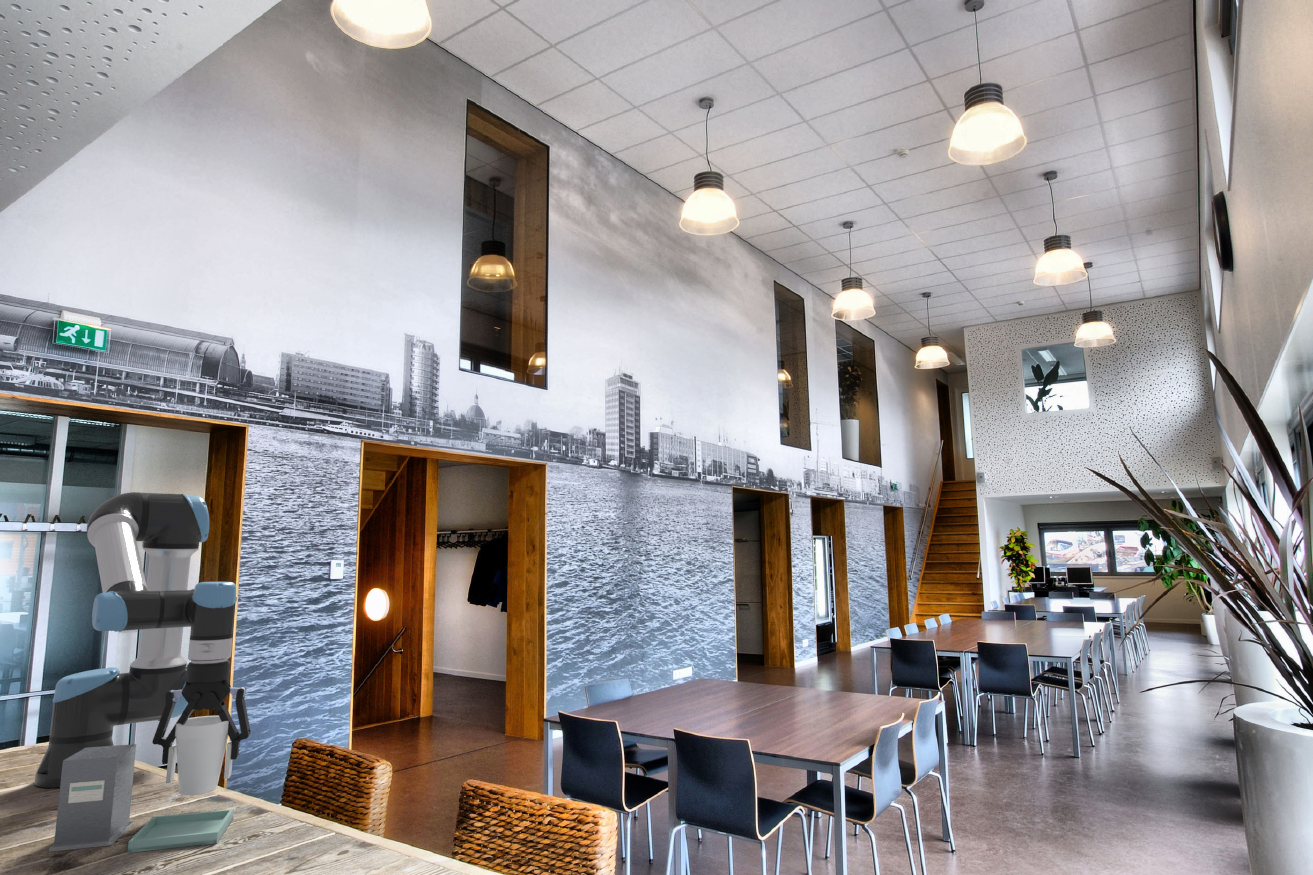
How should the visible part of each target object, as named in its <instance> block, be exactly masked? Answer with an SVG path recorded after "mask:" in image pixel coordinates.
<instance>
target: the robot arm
mask: <svg viewBox="0 0 1313 875" xmlns="http://www.w3.org/2000/svg"><path fill="white" fill-rule="evenodd" d="M86 523H87V524H86V534H87V540H88V541H89V543H90V545H92V546H93V547H94V549H95V555H96V561H97V568H98V573H99V578H100V584H101V593H98V594H97V595H95V598H94V601H93V604H92V613H91V618H92V619H91V624H92V627H93V629H94V630H95V631H98V632H115V633H116V632H118V633H119V632H124V631H137V630H141V634H140V639H139V640H140V642H139V649H138V651H139V653H138V656H137V657H136V659H134V660H133V661H132V662H131V663H130V666H129V672H123V673H120V670H119V668H118V667H104V668H96V669H92V670H85V671H82V672H80V671H79V672H78V673H77V672H76V673H73V674H70V675H66V676H64V677H62V678H60V679H59V680H58V681H57V683H56V684H55V688H54V689H55V690H54V695H53V698H52V703H53V704H52V714H51V721H50V722H51V723H50V729H49V739H48V746H47V749H46V751H45V753H44V755H43V757H42V760H41V762H40V764H39V766H38V768H37V770H36V772H35V774H34V786H35V787H38V788H51V789H52V788H60V784H61V774H62V765H63V760H65V759H67V758H69V757H70V756H72V755H74V754H76V753H77V752H79V751H81V750H83V749H84V748H88V747H103V746H115V745H114V741H113V740H114V739H113V735H114V733H113V732H114V727H115V726H122V725H123V726H124V725H127V724H128V725H129V724H139V723H144V722H145V723H146V722H156V721H158V724H157V728H156V730H155V733H154V736H153V738H152V742H151V743H152V744H153V745H154V746H155V745H157V746H161V747H162V753H161V754H162V756H161V764H162V765H167V768H166V775H165V776H166V777H165V778H166V779H165V784H171V783H172V782H173V781H175V777H176V776H175V774H176V764H177V746H176V743H174V742H175V741H176V737H175V730H176V724H179V723H180V724H181V725H184V724H185V723H186V721H187V720H188V719H189V718H191V714H192V713H193V712H195V711H201V710H214V711H215V713H216V714H217V716H219V717H220V719H221V721H222V722H223V721H229V723H228V738H229V739H230V740H229V741H227V744H226V749H225V763H224V773H223V779H224V780H229V778H230V777H231V776H232V773H233V772H232V769H233V760H237V759H238V757H239V754H240V742H241V741H243V740H246V739H248V738H249V736H251V734H252V733H251V732H252V731H251V726H250V725H251V724H250V722H249V717H248V716H249V715H248V711H247V706H246V705H247V704H246V699H245V697H246V693H247V687H245V686H241V687H235V686H234V687H232V686H231V683H230V675H231V674H230V673H231V661H230V660H229V659H230V658H231V657H232V653H233V652H232V650H233V637H234V636H233V634H234V625H235V624H234V623H235V613H236V603H237V601H238V597H237V585H236V583H235V582H232V581H202V582H198V583H196V584H195V586H194V588H192V589H188V586H189V575H190V566H191V557H192V555H194V554H195V553H196V552H197V551H199V546H200V543H204V542H206V541H207V540H208V537H209V532H210V515H209V510H208V505H207V503H206V500H204V499H203V497H201V496H199V495H194V494H184V493H160V492H159V493H157V492H156V493H155V492H139V491H137V492H136V491H131V492H124V493H121V494H118V495H115V496H113V497H110V498H108V499H107V500H105V501H104V502H102V503H101V504H100V505H99V506H97V507H96V508H95V510H94V511H93V512H92V513H91V514H90V516H89V519H88V521H87V522H86ZM137 542H143V545H142V549H143V551H145V553H146V554H148V556H149V560H148V566H147V567H148V569H147V575H146V576H147V579H146V577H145V572H144V569H143V565H142V559H141V556H140V552H139V548H138V543H137ZM189 627H190V631H189V632H190V633H189V641H188V642H189V643H188V654H187V659H188V660H189V661H190V662H188V660H187V659H186V658H185V657H183V656H182V644H183V634H184V628H189ZM229 694H230V695H231V696H232V699H234V700H235V708H236V712H237V713H236V714H237V718H238V723H239V729H240V732H239V729H238V728H237V726H236V724H235V722H234V719H233V718H232V716H231V713H230V712H229V710H228V708H227V707H228V706H227V704H226V702H225V699H226V697H228V696H229ZM178 717H179V718H178ZM175 718H178V719H177V721H176V722H175V724H174V726H173V727H172V729H171V730H170V732H169V733H168V734H167V736H165V735H166V732H167V730H168V726H169V724H170V722H171V719H175ZM173 743H174V744H173Z"/></svg>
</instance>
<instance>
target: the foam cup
mask: <svg viewBox="0 0 1313 875" xmlns="http://www.w3.org/2000/svg"><path fill="white" fill-rule="evenodd" d="M228 723H229V721H223V722H222V721H221V719H220V717H219V715H205V716H195V717H189V718H188V720H187V721H186V723H185V724H184V725H181V724H180V723H179V724H176V723H175V724H176V730H175V737H176V738H175V741H176V743H175V744H176V746H177V754H176V764H177V779H178V783H177V784H178V794H180V795H181V796H197V795H198V796H200V795H204V794H208V793H209V794H210V793H212V792H214V791H215V790H217V788H218V784H219V780H220V775H221V771H222V766H223V762H224V757H225V754H226V749H227V744H228V739H229V735H228Z"/></svg>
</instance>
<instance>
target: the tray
mask: <svg viewBox="0 0 1313 875" xmlns="http://www.w3.org/2000/svg"><path fill="white" fill-rule="evenodd" d="M234 813H235V809H234V808H233V809H231V808H229V809H223V810H221V809H220V810H211V811H202V812H201V811H200V812H191V813H190V812H189V813H181V814H180V813H179V814H170V815H159V816H152V818H150V819H149V821H147V822H146V823H145V824H144V826H142V827H141V829H139V831H137V832H136V833H135V834H134V835H133V836H132V837H131V838H130V839H129V841H128V846H127V853H128V854H131V853H139V852H147V851H148V852H149V851H157V850H167V849H175V848H176V849H178V848H184V847H185V848H186V847H198V846H205V845H213V844H218V842H219V841H220V840H221V838H222V836H223V835H224V834H225V833H226V831H227V829H228V828H229V826H230V825H231V823H232V822H233V820H234V816H235V815H234Z"/></svg>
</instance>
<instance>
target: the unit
mask: <svg viewBox="0 0 1313 875" xmlns="http://www.w3.org/2000/svg"><path fill="white" fill-rule="evenodd" d="M136 751H137V744H136V743H135V744H134V743H132V744H118V745H114V746H103V747H88V748H84V749H83V750H81V751H79V752H77V753H76V754H74V755H72V756H70V757H69V758H67V759H65V760H63V765H62V774H61V784H60V787H59V794H58V805H57V812H56V822H55V823H56V824H55V831H54V833H55V834H54V840H53V841H54V842H53V844H52V845H51V846H50V847H48V852H49V853H50V852H61V851H68V850H78V849H89V848H99V847H107V846H112V845H113V844H114V843H115V842H116V841H117V840H118V839H120V838H121V837H122V836H123V834H125V833H126V832H127V831H128V830H129V829H130V828H132V827H133V825H134V820H132V821H130V816H131V807H132V806H131V805H132V804H131V803H132V795H133V783H134V773H135V772H134V771H135V761H136Z"/></svg>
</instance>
